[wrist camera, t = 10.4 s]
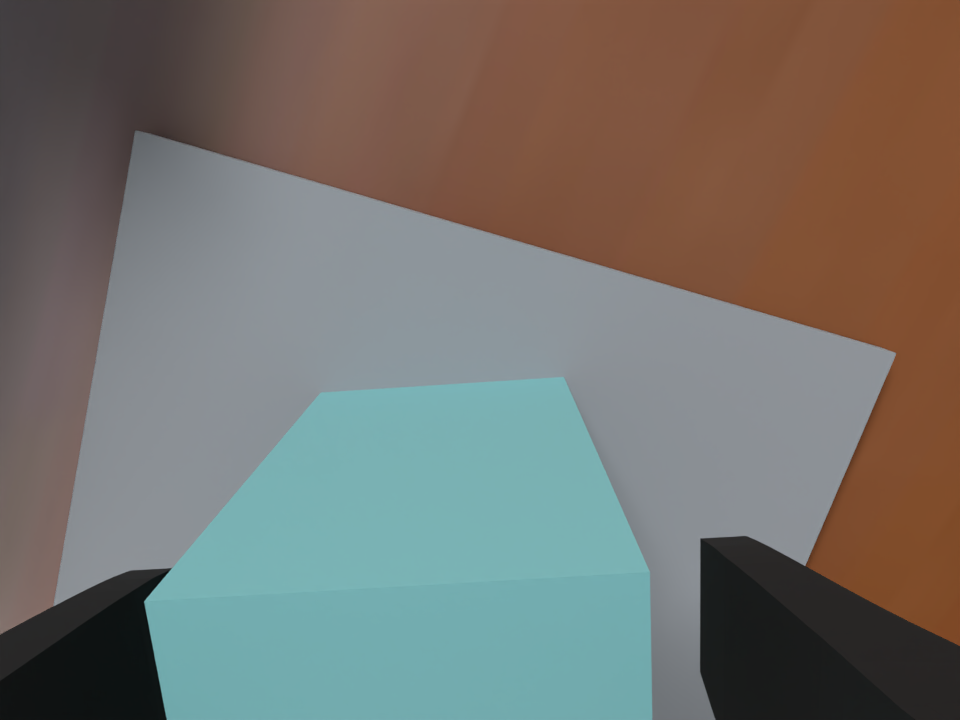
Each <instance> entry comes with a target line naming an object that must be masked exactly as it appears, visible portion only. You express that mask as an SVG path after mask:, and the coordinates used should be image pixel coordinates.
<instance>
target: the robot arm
mask: <svg viewBox="0 0 960 720" xmlns="http://www.w3.org/2000/svg"><path fill="white" fill-rule="evenodd" d="M171 569H172V568H166V569H148V570H130V571H128V572H125V573H122V574H120V575H117V576H114V577H112V578H110V579H108V580H105V581H103V582H101V583H99V584H97V585H95V586H93V587H91V588H88V589H86V590H84V591H82V592H80V593H78V594H76V595H75V596H73V597H71V598H69V599H67V600H65V601H63V602H61V603H59V604H57V605H55V606H53V607H51V608H50V609H48V610H46V611H44V612H42V613H40V614H38V615H36V616H34V617H32V618H31V619H29V620H27V621H25V622H23V623H21V624H19V625H17V626H15V627H14V628H12V629H10V630H8V631H6V632H4V633H2V634H0V720H167V718H166V713H165V708H164V703H163V698H162V692H161V687H160V682H159V677H158V671H157V666H156V661H155V656H154V651H153V645H152V640H151V635H150V630H149V624H148V619H147V614H146V609H145V603H144V601H145V600H146V599H147V597H148V596H149V595H150V594H151V593H152V591H153V590H154V589H155V588H156V587H157V586H158V584H159V583H160V582H161V581H162V580H163V578H164V577H165V576H166V575H167V574H168V573H169V571H170V570H171ZM700 673H701V676H702V680H703V683H704V686H705V689H706V692H707V695H708V699H709V702H710V705H711V708H712V711H713V714H714V717H715V720H960V646H958V645H956V644H954V643H952V642H950V641H948V640H946V639H944V638H942V637H940V636H938V635H935V634H933V633H931V632H929V631H927V630H925V629H923V628H921V627H919V626H917V625H915V624H913V623H911V622H908V621H907V620H905V619H903V618H901V617H899V616H897V615H895V614H893V613H891V612H889V611H887V610H885V609H883V608H881V607H879V606H877V605H875V604H874V603H872V602H870V601H868V600H866V599H864V598H862V597H860V596H859V595H857V594H855V593H853V592H851V591H849V590H847V589H846V588H844V587H842V586H840V585H838V584H836V583H835V582H833V581H831V580H829V579H827V578H826V577H824V576H822V575H820V574H818V573H817V572H815V571H813V570H811V569H809V568H808V567H806V566H804V565H802V564H800V563H799V562H797V561H795V560H793V559H791V558H790V557H788V556H786V555H784V554H782V553H780V552H779V551H777V550H775V549H773V548H771V547H769V546H767V545H765V544H763V543H761V542H759V541H757V540H755V539H752V538H750V537H748V536H735V537H717V538H700Z"/></svg>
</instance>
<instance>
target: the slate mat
mask: <svg viewBox="0 0 960 720" xmlns="http://www.w3.org/2000/svg"><path fill="white" fill-rule="evenodd" d="M895 355H896V353H894V352H892V351H889V350H886V349H884V348H881V347H877V346H874V345H871V344H867V343H864V342H860V341H857V340H854V339H850V338H847V337H843V336H840V335H836V334H833V333H830V332H826V331H823V330H819V329H816V328H813V327H809V326H806V325H802V324H799V323H796V322H792V321H789V320H785V319H782V318H779V317H775V316H772V315H768V314H765V313H761V312H758V311H755V310H751V309H748V308H744V307H741V306H738V305H734V304H731V303H727V302H724V301H721V300H717V299H714V298H710V297H707V296H703V295H700V294H697V293H693V292H690V291H686V290H683V289H680V288H676V287H673V286H669V285H666V284H663V283H659V282H656V281H652V280H649V279H645V278H642V277H639V276H635V275H632V274H628V273H625V272H622V271H618V270H615V269H611V268H608V267H605V266H601V265H598V264H594V263H591V262H588V261H584V260H581V259H577V258H574V257H570V256H567V255H564V254H560V253H557V252H553V251H550V250H547V249H543V248H540V247H536V246H533V245H530V244H526V243H523V242H519V241H516V240H512V239H509V238H506V237H502V236H499V235H495V234H492V233H489V232H485V231H482V230H478V229H475V228H472V227H468V226H465V225H461V224H458V223H454V222H451V221H448V220H444V219H441V218H437V217H434V216H431V215H427V214H424V213H420V212H417V211H414V210H410V209H407V208H403V207H400V206H397V205H393V204H390V203H386V202H383V201H379V200H376V199H373V198H369V197H366V196H362V195H359V194H356V193H352V192H349V191H345V190H342V189H339V188H335V187H332V186H328V185H325V184H321V183H318V182H315V181H311V180H308V179H304V178H301V177H298V176H294V175H291V174H287V173H284V172H281V171H277V170H274V169H270V168H267V167H263V166H260V165H257V164H253V163H250V162H246V161H243V160H240V159H236V158H233V157H229V156H226V155H223V154H219V153H216V152H212V151H209V150H206V149H202V148H199V147H195V146H192V145H188V144H185V143H182V142H178V141H175V140H171V139H168V138H165V137H161V136H158V135H154V134H151V133H147V132H142V131H137V130H135V135H134V141H133V147H132V152H131V158H130V164H129V170H128V176H127V181H126V187H125V193H124V199H123V205H122V211H121V216H120V222H119V228H118V234H117V240H116V245H115V251H114V257H113V263H112V269H111V274H110V280H109V286H108V292H107V298H106V303H105V309H104V315H103V321H102V327H101V332H100V338H99V344H98V350H97V356H96V362H95V367H94V373H93V379H92V385H91V391H90V396H89V402H88V408H87V414H86V420H85V425H84V431H83V437H82V443H81V449H80V454H79V460H78V466H77V472H76V478H75V483H74V489H73V495H72V501H71V507H70V513H69V518H68V524H67V530H66V536H65V542H64V547H63V553H62V559H61V565H60V571H59V576H58V582H57V588H56V594H55V600H54V605H53V606H55V605H57V604H59V603H61V602H63V601H65V600H67V599H69V598H71V597H73V596H75V595H76V594H78V593H80V592H82V591H84V590H86V589H88V588H91V587H93V586H95V585H97V584H99V583H101V582H103V581H105V580H108V579H110V578H112V577H114V576H117V575H120V574H122V573H125V572H128V571H130V570H148V569H166V568H173V567H174V565H175V564H176V563H177V562H178V561H179V560H180V558H181V557H182V556H183V555H184V554H185V552H186V551H187V550H188V549H189V548H190V547H191V545H192V544H193V543H194V542H195V541H196V539H197V538H198V537H199V536H200V535H201V534H202V532H203V531H204V530H205V529H206V528H207V526H208V525H209V524H210V523H211V522H212V521H213V519H214V518H215V517H216V516H217V515H218V513H219V512H220V511H221V510H222V509H223V507H224V506H225V505H226V504H227V503H228V502H229V500H230V499H231V498H232V497H233V496H234V494H235V493H236V492H237V491H238V490H239V489H240V487H241V486H242V485H243V484H244V483H245V481H246V480H247V479H248V478H249V477H250V476H251V474H252V473H253V472H254V471H255V470H256V468H257V467H258V466H259V465H260V464H261V463H262V461H263V460H264V459H265V458H266V457H267V455H268V454H269V453H270V452H271V451H272V450H273V448H274V447H275V446H276V445H277V444H278V442H279V441H280V440H281V439H282V438H283V436H284V435H285V434H286V433H287V432H288V431H289V429H290V428H291V427H292V426H293V425H294V423H295V422H296V421H297V420H298V419H299V418H300V416H301V415H302V414H303V413H304V412H305V410H306V409H307V408H308V407H309V406H310V405H311V403H312V402H313V401H314V400H315V399H316V397H317V396H318V395H319V394H320V393H322V392H337V391H353V390H368V389H384V388H400V387H415V386H431V385H447V384H462V383H478V382H493V381H509V380H525V379H540V378H556V377H564V378H565V380H566V383H567V385H568V387H569V390H570V392H571V394H572V396H573V399H574V401H575V403H576V405H577V408H578V410H579V412H580V415H581V417H582V419H583V421H584V424H585V426H586V428H587V430H588V433H589V435H590V437H591V440H592V442H593V444H594V446H595V449H596V451H597V453H598V455H599V458H600V460H601V462H602V464H603V467H604V469H605V471H606V474H607V476H608V478H609V480H610V483H611V485H612V487H613V489H614V492H615V494H616V496H617V499H618V501H619V503H620V505H621V508H622V510H623V512H624V514H625V517H626V519H627V521H628V524H629V526H630V528H631V530H632V533H633V535H634V537H635V539H636V542H637V544H638V546H639V548H640V551H641V553H642V555H643V558H644V560H645V562H646V564H647V567H648V569H649V571H650V607H651V667H652V720H715V717H714V714H713V711H712V708H711V705H710V702H709V699H708V695H707V692H706V689H705V686H704V683H703V680H702V676H701V673H700V538H717V537H735V536H748V537H750V538H752V539H755V540H757V541H759V542H761V543H763V544H765V545H767V546H769V547H771V548H773V549H775V550H777V551H779V552H780V553H782V554H784V555H786V556H788V557H790V558H791V559H793V560H795V561H797V562H799V563H800V564H802V565H804V566H805V565H806V563H807V561H808V558H809V556H810V554H811V551H812V549H813V547H814V544H815V542H816V540H817V537H818V535H819V533H820V530H821V528H822V526H823V523H824V521H825V519H826V516H827V514H828V512H829V509H830V507H831V505H832V502H833V500H834V498H835V495H836V493H837V491H838V488H839V486H840V484H841V481H842V479H843V477H844V474H845V472H846V470H847V467H848V465H849V463H850V460H851V458H852V456H853V453H854V451H855V449H856V446H857V444H858V442H859V439H860V437H861V435H862V432H863V430H864V428H865V425H866V423H867V421H868V418H869V416H870V414H871V411H872V409H873V407H874V404H875V402H876V400H877V397H878V395H879V393H880V390H881V388H882V386H883V383H884V381H885V379H886V376H887V374H888V372H889V369H890V367H891V365H892V362H893V360H894V358H895Z"/></svg>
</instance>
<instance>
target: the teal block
mask: <svg viewBox="0 0 960 720" xmlns="http://www.w3.org/2000/svg"><path fill="white" fill-rule="evenodd" d="M144 603H145V609H146V614H147V619H148V624H149V630H150V635H151V640H152V645H153V651H154V656H155V661H156V666H157V671H158V677H159V682H160V687H161V692H162V698H163V703H164V708H165V713H166V718H167V720H652V667H651V607H650V571H649V569H648V567H647V564H646V562H645V560H644V558H643V555H642V553H641V551H640V548H639V546H638V544H637V542H636V539H635V537H634V535H633V533H632V530H631V528H630V526H629V524H628V521H627V519H626V517H625V514H624V512H623V510H622V508H621V505H620V503H619V501H618V499H617V496H616V494H615V492H614V489H613V487H612V485H611V483H610V480H609V478H608V476H607V474H606V471H605V469H604V467H603V464H602V462H601V460H600V458H599V455H598V453H597V451H596V449H595V446H594V444H593V442H592V440H591V437H590V435H589V433H588V430H587V428H586V426H585V424H584V421H583V419H582V417H581V415H580V412H579V410H578V408H577V405H576V403H575V401H574V399H573V396H572V394H571V392H570V390H569V387H568V385H567V383H566V380H565V378H564V377H556V378H540V379H525V380H509V381H493V382H478V383H462V384H447V385H431V386H415V387H400V388H384V389H368V390H353V391H337V392H322V393H320V394H319V395H318V396H317V397H316V399H315V400H314V401H313V402H312V403H311V405H310V406H309V407H308V408H307V409H306V410H305V412H304V413H303V414H302V415H301V416H300V418H299V419H298V420H297V421H296V422H295V423H294V425H293V426H292V427H291V428H290V429H289V431H288V432H287V433H286V434H285V435H284V436H283V438H282V439H281V440H280V441H279V442H278V444H277V445H276V446H275V447H274V448H273V450H272V451H271V452H270V453H269V454H268V455H267V457H266V458H265V459H264V460H263V461H262V463H261V464H260V465H259V466H258V467H257V468H256V470H255V471H254V472H253V473H252V474H251V476H250V477H249V478H248V479H247V480H246V481H245V483H244V484H243V485H242V486H241V487H240V489H239V490H238V491H237V492H236V493H235V494H234V496H233V497H232V498H231V499H230V500H229V502H228V503H227V504H226V505H225V506H224V507H223V509H222V510H221V511H220V512H219V513H218V515H217V516H216V517H215V518H214V519H213V521H212V522H211V523H210V524H209V525H208V526H207V528H206V529H205V530H204V531H203V532H202V534H201V535H200V536H199V537H198V538H197V539H196V541H195V542H194V543H193V544H192V545H191V547H190V548H189V549H188V550H187V551H186V552H185V554H184V555H183V556H182V557H181V558H180V560H179V561H178V562H177V563H176V564H175V565H174V567H173V568H172V569H171V570H170V571H169V573H168V574H167V575H166V576H165V577H164V578H163V580H162V581H161V582H160V583H159V584H158V586H157V587H156V588H155V589H154V590H153V591H152V593H151V594H150V595H149V596H148V597H147V599H146V600H145V601H144Z"/></svg>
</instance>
